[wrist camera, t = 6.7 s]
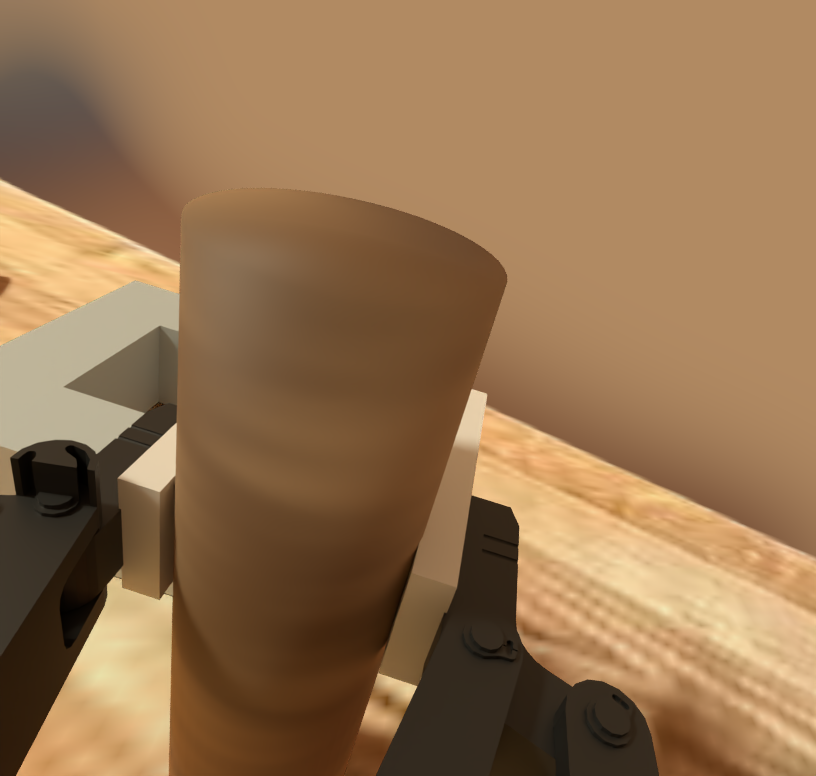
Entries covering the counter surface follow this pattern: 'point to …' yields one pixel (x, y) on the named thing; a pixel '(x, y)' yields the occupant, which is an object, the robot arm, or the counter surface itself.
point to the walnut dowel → (306, 461)
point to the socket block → (89, 373)
